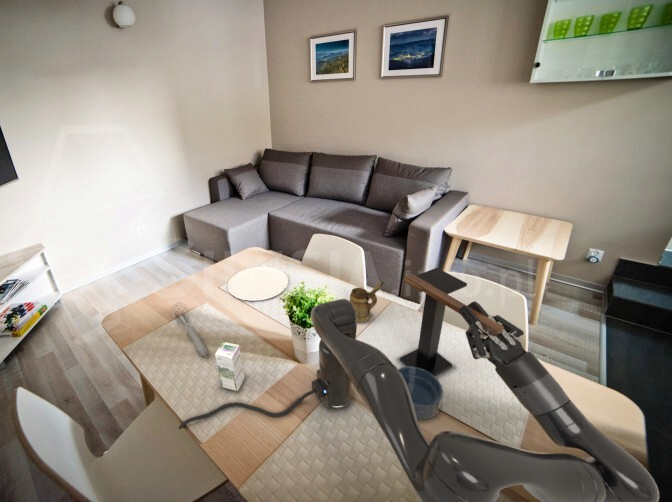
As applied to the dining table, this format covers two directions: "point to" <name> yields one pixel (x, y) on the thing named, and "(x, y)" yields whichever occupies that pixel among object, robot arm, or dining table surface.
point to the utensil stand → (432, 324)
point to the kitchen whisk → (193, 335)
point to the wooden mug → (364, 302)
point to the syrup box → (230, 366)
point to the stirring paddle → (450, 302)
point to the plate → (258, 283)
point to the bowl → (423, 391)
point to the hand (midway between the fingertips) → (466, 305)
